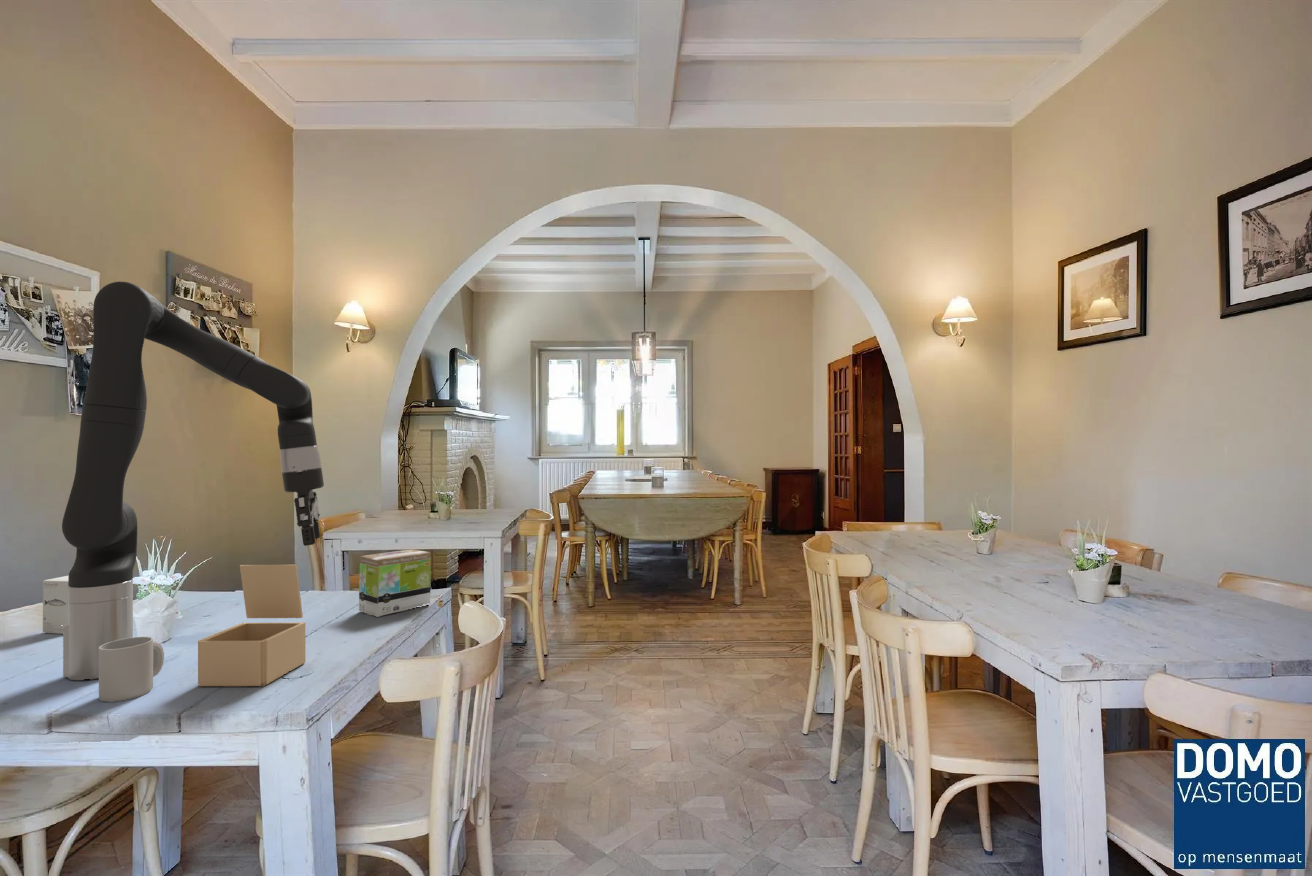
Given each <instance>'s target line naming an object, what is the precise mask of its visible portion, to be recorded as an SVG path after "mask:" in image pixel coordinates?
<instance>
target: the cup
mask: <svg viewBox="0 0 1312 876" xmlns="http://www.w3.org/2000/svg"><path fill="white" fill-rule="evenodd" d="M164 662H165V651H164V648H163V646H162V644H161V643H159V642H157V641H155V640H154V638H153V637H151V636H133V638H126V639H121V640H116V641H112V642H109V643H106V644H103V645H101V646H100V647H99V678H98V699H99V700H100V701H101V702H103V701H105V702H104V703H114V702H113V701H118V702H123V701H122V700H124V701H128V700H127V699H129V700H131V699H130V698H133V699H135V698H139V697H142V696H144V695H146V694H149V692H151V690H153V688H154V677H156V676H157V675H158V674H159V673H160V672H161V671H162V668H163V666H164ZM106 701H107V702H106Z"/></svg>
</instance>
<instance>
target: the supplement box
mask: <svg viewBox="0 0 1312 876" xmlns="http://www.w3.org/2000/svg"><path fill="white" fill-rule="evenodd" d="M68 577H69V575H65V576H59V577H54V578H49V579H44V580H43V581H42V633H43V632H45V633H44V634H63V628H64V627H65V626H67V625H69V602H68V588H69V586H68ZM61 625H63V626H61Z"/></svg>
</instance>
